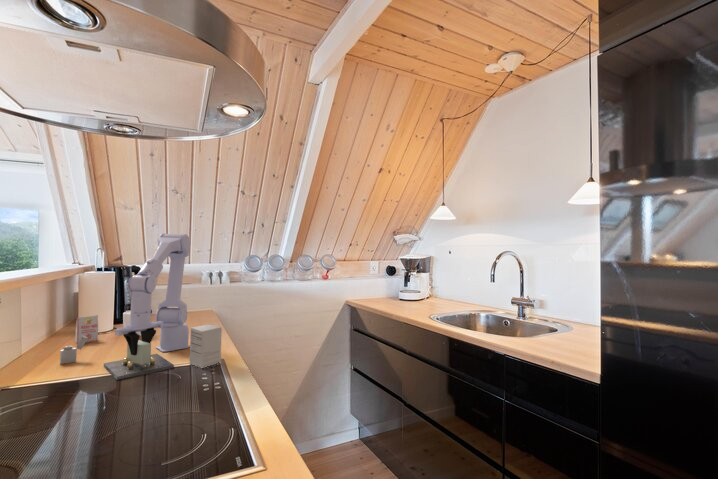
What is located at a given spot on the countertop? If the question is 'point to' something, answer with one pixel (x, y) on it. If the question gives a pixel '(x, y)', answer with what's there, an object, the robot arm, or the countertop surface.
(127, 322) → the white cup
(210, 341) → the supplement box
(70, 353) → the lighter
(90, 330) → the printed carton
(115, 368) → the standoff plate
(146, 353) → the sage block
